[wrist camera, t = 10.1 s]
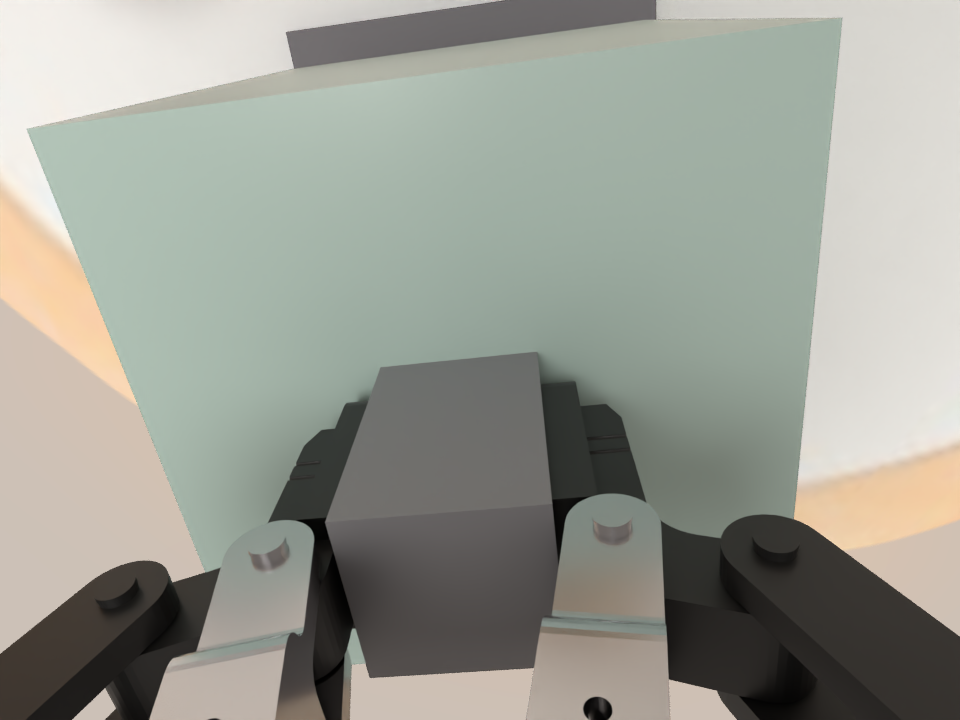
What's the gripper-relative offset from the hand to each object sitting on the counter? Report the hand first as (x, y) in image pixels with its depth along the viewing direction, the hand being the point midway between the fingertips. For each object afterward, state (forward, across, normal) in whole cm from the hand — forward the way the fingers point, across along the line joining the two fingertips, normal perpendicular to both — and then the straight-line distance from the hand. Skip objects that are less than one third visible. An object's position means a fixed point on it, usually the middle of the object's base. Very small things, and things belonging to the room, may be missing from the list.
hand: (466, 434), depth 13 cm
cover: (+16, 0, 0) cm, 16 cm away
